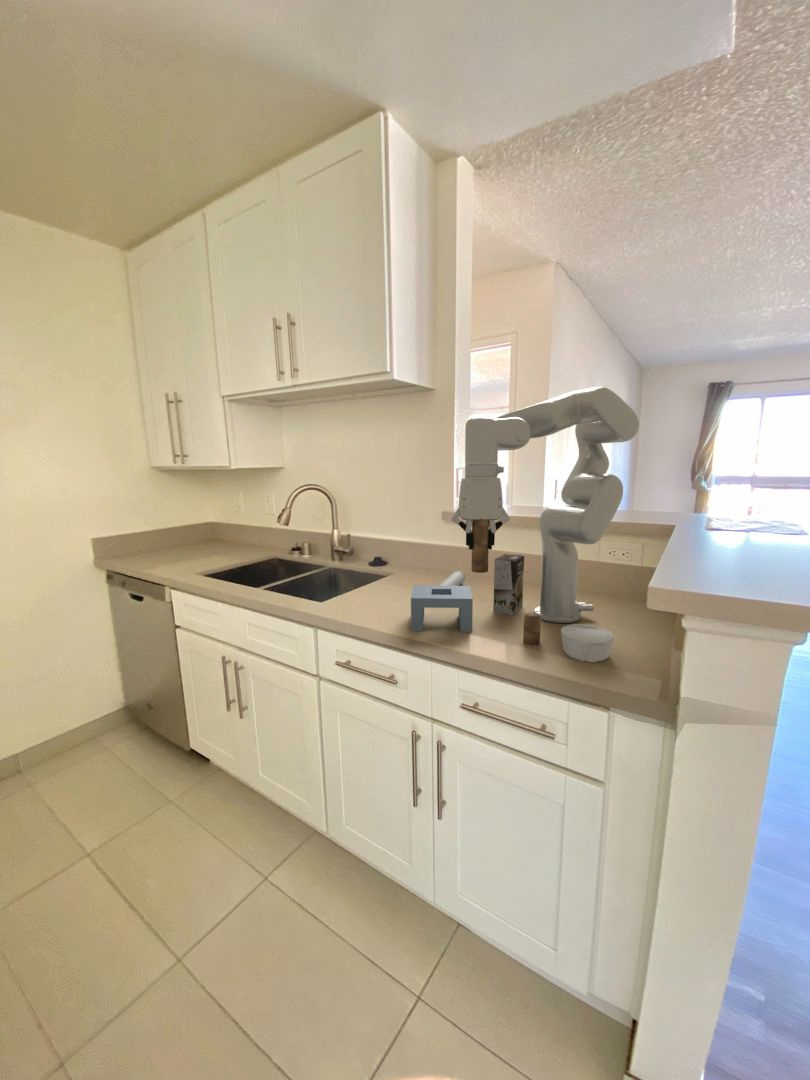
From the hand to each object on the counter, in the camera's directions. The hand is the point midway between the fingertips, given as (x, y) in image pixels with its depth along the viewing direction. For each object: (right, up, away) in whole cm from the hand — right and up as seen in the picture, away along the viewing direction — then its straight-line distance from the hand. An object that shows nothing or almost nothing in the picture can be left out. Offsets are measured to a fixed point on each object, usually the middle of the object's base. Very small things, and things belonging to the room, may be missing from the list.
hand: (479, 547), depth 105 cm
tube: (-4, -17, +42) cm, 46 cm away
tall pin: (0, -6, +1) cm, 6 cm away
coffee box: (+13, -19, +25) cm, 34 cm away
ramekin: (+23, -25, -5) cm, 34 cm away
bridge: (-8, -21, +15) cm, 27 cm away
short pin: (+13, -23, +1) cm, 27 cm away
